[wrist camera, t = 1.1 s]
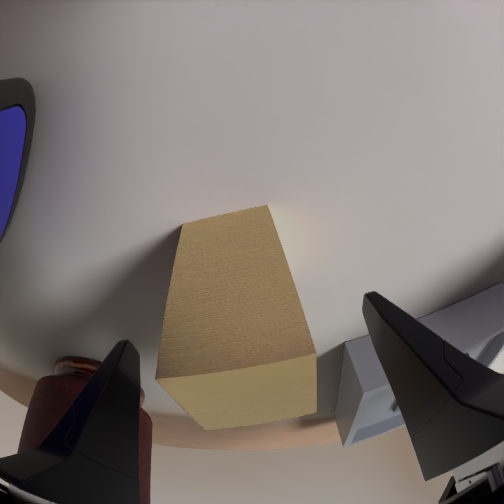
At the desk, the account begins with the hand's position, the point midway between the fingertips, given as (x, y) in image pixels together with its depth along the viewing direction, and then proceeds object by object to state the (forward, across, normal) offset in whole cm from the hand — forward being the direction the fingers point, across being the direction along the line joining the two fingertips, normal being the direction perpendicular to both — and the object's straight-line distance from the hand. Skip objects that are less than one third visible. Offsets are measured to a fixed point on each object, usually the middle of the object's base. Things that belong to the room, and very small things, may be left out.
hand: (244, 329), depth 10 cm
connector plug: (+5, 0, 0) cm, 5 cm away
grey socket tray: (+5, -15, +18) cm, 24 cm away
